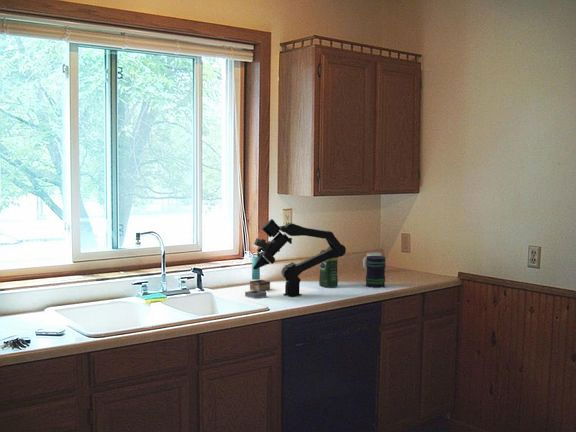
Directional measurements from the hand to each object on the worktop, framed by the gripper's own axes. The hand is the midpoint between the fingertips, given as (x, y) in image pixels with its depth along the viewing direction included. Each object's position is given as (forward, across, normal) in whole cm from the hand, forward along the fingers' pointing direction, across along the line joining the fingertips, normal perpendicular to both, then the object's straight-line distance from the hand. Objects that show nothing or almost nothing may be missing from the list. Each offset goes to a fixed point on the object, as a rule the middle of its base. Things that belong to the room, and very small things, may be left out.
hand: (253, 268), depth 300 cm
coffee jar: (-20, -20, +39) cm, 48 cm away
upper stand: (+5, -16, +14) cm, 21 cm away
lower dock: (+8, 0, +10) cm, 13 cm away
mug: (-46, -58, +65) cm, 99 cm away
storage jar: (-37, -17, +56) cm, 69 cm away
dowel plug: (+3, 0, +4) cm, 5 cm away
